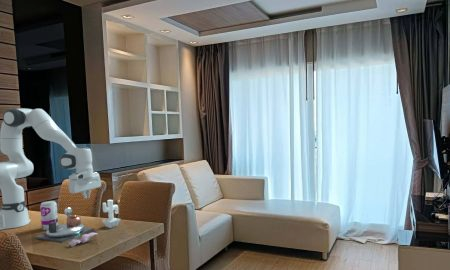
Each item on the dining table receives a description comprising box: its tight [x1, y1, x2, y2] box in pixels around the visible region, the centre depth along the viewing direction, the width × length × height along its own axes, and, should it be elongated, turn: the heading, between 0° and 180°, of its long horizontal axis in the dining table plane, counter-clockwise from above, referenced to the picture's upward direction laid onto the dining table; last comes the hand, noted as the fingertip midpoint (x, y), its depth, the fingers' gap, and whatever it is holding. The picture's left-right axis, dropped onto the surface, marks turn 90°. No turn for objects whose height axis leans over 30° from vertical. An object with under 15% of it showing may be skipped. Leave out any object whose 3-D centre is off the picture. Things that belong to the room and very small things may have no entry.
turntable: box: [45, 222, 85, 237], centre depth 176 cm, size 18×18×7 cm
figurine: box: [101, 199, 121, 229], centre depth 186 cm, size 7×9×15 cm
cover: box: [66, 214, 82, 227], centre depth 181 cm, size 7×7×5 cm
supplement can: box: [39, 200, 59, 231], centre depth 189 cm, size 8×8×15 cm
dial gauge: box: [63, 207, 73, 219], centre depth 187 cm, size 5×6×11 cm
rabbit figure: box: [65, 232, 98, 248], centre depth 160 cm, size 6×6×15 cm
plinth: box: [35, 226, 95, 243], centre depth 177 cm, size 20×20×1 cm
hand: (86, 198), depth 190 cm, fingers closed
